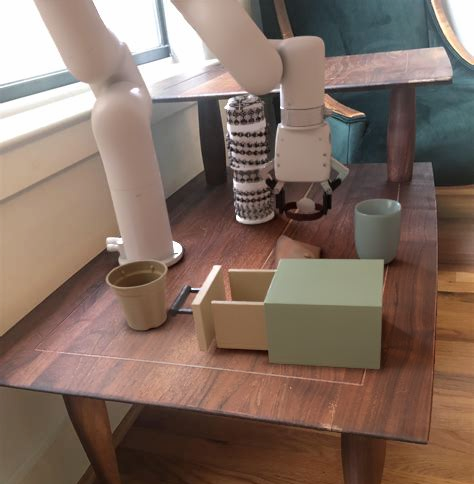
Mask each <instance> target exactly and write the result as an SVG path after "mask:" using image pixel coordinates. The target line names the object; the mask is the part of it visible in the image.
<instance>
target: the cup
mask: <svg viewBox="0 0 474 484" xmlns="http://www.w3.org/2000/svg"><path fill="white" fill-rule="evenodd" d="M402 213H403V207H402V205H401V203H400V202H399V201H397V200H394V199H388V198H370V199H366V200H362V201H359V202H358V203H357V204H356V205H355V206H354V210H353V219H354V220H353V235H354V237H353V238H354V247H355V252H356V255H357V257H358V259H377V260H384V266H385V265H388V264H390V263H392V261H394V259H395V258H396V256H397V254H398V251H399V248H400V243H401V235H402V233H401V232H402V219H403V218H402V217H403V214H402Z"/></svg>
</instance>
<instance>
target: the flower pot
mask: <svg viewBox="0 0 474 484" xmlns="http://www.w3.org/2000/svg"><path fill="white" fill-rule="evenodd" d="M168 268H169V267H167V266H166V264H165V263H163V262H161V261H157V260H138V261H133V262H129V263H126V264H123V265H120V264H119V265H118V266H116V267H114V268H113V269H111V271H110V272H108V274H107V275H106V277H105V282H106V284H107V285H108V286H109V288H111V290H112V292H113V293H114V294H115V296H116V298H117V301H118V303H119V305H120V307H121V308H120V309H121V310H122V312H123V315H124V317H125V320H126V322H127V325H128V326H129V328H131V329H132V330H134V331H148V330H149V329H152V328H159V327H160V326H161V325H163V324H164V323H165V322H166V321H167V318H168V316H167V315H168V312H167V301H166V281H167V274H168V271H169V269H168Z"/></svg>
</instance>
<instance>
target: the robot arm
mask: <svg viewBox="0 0 474 484" xmlns="http://www.w3.org/2000/svg"><path fill="white" fill-rule="evenodd" d="M32 1H33V3H34V5H35V7H36V9H37V11H38V13H39V15H40V18H41V19H42V22H43V23H44V26H45V28H46V30H47V32H48V34H49V35H50V37H51V39H52V41H53V43H54V45H55V47H56V49H57V51H58V53H59V55H60V57H61V59H62V62H63V63H64V66H65V67H66V69H67V70H68V72H69V73H70V74H71V76H72V77H74V78H75V79H76V80H78V81H79V82H81V83H84V84H86V85H87V84H88V86H89V88H90V89H91V92H92V93H93V95H94V97H95V102H94V104H93V107H92V108H91V109H92V110H91V115H90V116H91V117H90V123H91V129H92V130H91V131H92V133H93V137H94V140H95V143H96V146H97V149H98V152H99V155H100V158H101V162H102V164H103V169H104V172H105V176H106V181H107V184H108V188H109V191H110V192H109V193H110V196H111V200H112V204H113V209H114V213H115V216H116V221H117V226H118V230H119V234H120V237H107V238H106V240H105V245H106V251H107V252H111V253H112V252H118V253H119V256H118V259H117V260H118V264H119V266H120V265H123V264H126V263H129V262H133V261H138V260H157V261H161V262H163V263H165V264H166V266H167V268H169V267H171V266H173V265H175V264H176V263H178V262H179V261H180V260H181V259H182V257H183V255H184V250H183V247H182V245H181V244H180V243H178V242H176V241H174V239H173V234H172V229H171V224H170V223H171V222H170V219H169V218H170V217H169V213H168V207H167V202H166V197H165V191H164V185H163V181H162V180H163V179H162V177H161V171H160V166H159V161H158V156H157V152H156V148H155V144H154V143H155V142H154V140H153V133H152V129H151V123H152V119H153V115H154V103H153V99H152V96H151V94H150V91H149V89H148V86H147V85H146V82H145V80H144V77H143V76H142V74H141V71H140V69H139V68H138V64H137V62H136V60H135V58H134V56H133V54H132V52H131V49H130V47H129V45H128V43H127V41H126V39H125V37H124V35H123V33H122V32H121V30H119V28H118V27H117V25H115V24H114V23H113V22H111V21H110V20H109V19H106V18H104V17H103V16H102V14H101V12H100V10H99V8H98V5H96V2H95V0H32ZM167 2H168V3H169V5H171V7H172V8H173V9H174V10H175V11H176V12H177V13H178V15H179V16H180V18H181V19H182V21H184V23H185V24H186V25H187V26H188V27H189V28H190V29H191V30H193V32H194V33H195V34H196V35H197V36H198V37H199V38H200V39H201V41H202V42H203V43H204V45H205V46H206V47H207V49H208V50H209V51H210V52H211V53H212V54H213V56H214V57H215V58H216V59H217V60H218V62H219V63H220V64H221V66H223V68H224V69H225V70H226V71H227V73H228V74H229V75H230V76H231V77H232V79H233V80H234V81H235V82H236V84H237V85H239V87H240V88H241V89H242V90H243V91H245V92H246V93H247V94H249V95H256V96H263V95H267V94H269V93H272V91H274V90H275V89H276V88H277V86H279V99H280V100H279V101H280V123H278V124H277V129H276V134H275V143H274V144H275V145H274V158H272V159H271V161H270V162H269V163H268V164H266V165H265V166H264V167H262V168H261V169H260V170H259V175H260V176H261V178H262V179H263V180H264V181H265V183H266V185H267V186H269V187H270V188H271V189H270V190H272V191H273V192H272V193H273V195H274V194H275V209H278V215H283V214H285V211H284V205H285V204H286V190H285V188H284V185H285V184H286V183H319V185H321V187H322V189H323V190H324V191H323V194H322V205H323V216H327V215H328V213H329V210H332V207H333V205H332V204H333V203H332V202H333V192H335V190H337V189H338V188H339V187H340V186H341V185H342V183H343V182H344V180H345V179H346V178H347V177H348V175H349V174H350V169H349V168H348V167H347V166H345V165H344V164H342V163H341V162H340V161H339V160H337V159H336V158H334V157H333V148H332V147H333V145H332V134H331V127H330V122H329V121H326V119H328V118H333V116H334V109H333V108H329V107H327V106H326V103H325V98H326V97H325V96H326V95H325V94H326V93H325V86H326V85H325V82H326V81H325V80H326V79H325V78H326V75H325V74H326V45H325V42H324V40H323V39H322V38H321V37H319V36H315V35H300V36H292V37H289V38H286V39H272V38H270V39H269V38H267V37H266V36H265V34H264V33H263V32H262V30H261V29H260V28H259V26H258V25H257V24H256V22H255V21H254V20H253V19H252V17H250V15H249V14H248V12H247V11H246V10H245V8H244V7H243V5H242V4H241V2H239V0H167ZM273 169H274V177H275V178H274V177H272V176H271V174H270V172H271V171H272V170H273ZM333 170H334V171H336V172H337V173H338V175H337V176H336V177H335V178H334V179H333V180H331V178H330V177H331V173H332V171H333Z"/></svg>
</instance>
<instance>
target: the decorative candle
mask: <svg viewBox="0 0 474 484" xmlns="http://www.w3.org/2000/svg"><path fill="white" fill-rule="evenodd" d="M264 105H265V102H264V101H263V100H261V98H260V97H259V95H253V94H241V95H235V96H232V97H231V98H229V99H228V101H227V104H226V105H225V106H224V107H223V109H224V110H225V111H226V120H227V121H226V129H227V134H226V135H225V136H224V138H225V141H226V146H225V147H226V149H227V150H228V153H227V156H228V162H229V163H228V165H229V166H230V168H231V169H232V173H233V174H232V175H233V180H232V181H233V187H232V192H233V193H234V194H233V199H234V200H235V201H234V204H233V205H234V208H235V210H234V211H235V212H234V213H235V215H236V221H238V223H240V224H244V225H258V224H262V223H266V222H268V221H270V220H273V218H274V217H275V212H274V211H275V207H274V202H275V201H274V197H272V196H274V192H273V190H272V189H271V188H270V187H269V186H267V185H266V183H265V181H264V180H263V179H262V178H261V176H260V175H259V170H260V169H261V168H262V167H264V166H265V165H266V164H268V163H269V162H270V161H272V159H271V157H269V156H268V155H269V153H271V148H270V147H269V145H270V144H271V141H270V140H269V139H267V138H266V137H267V136H269V135H270V134H271V132H270V130H269V129H267V128H268V127H270V123H269V122H266V117H265V107H264Z"/></svg>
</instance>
